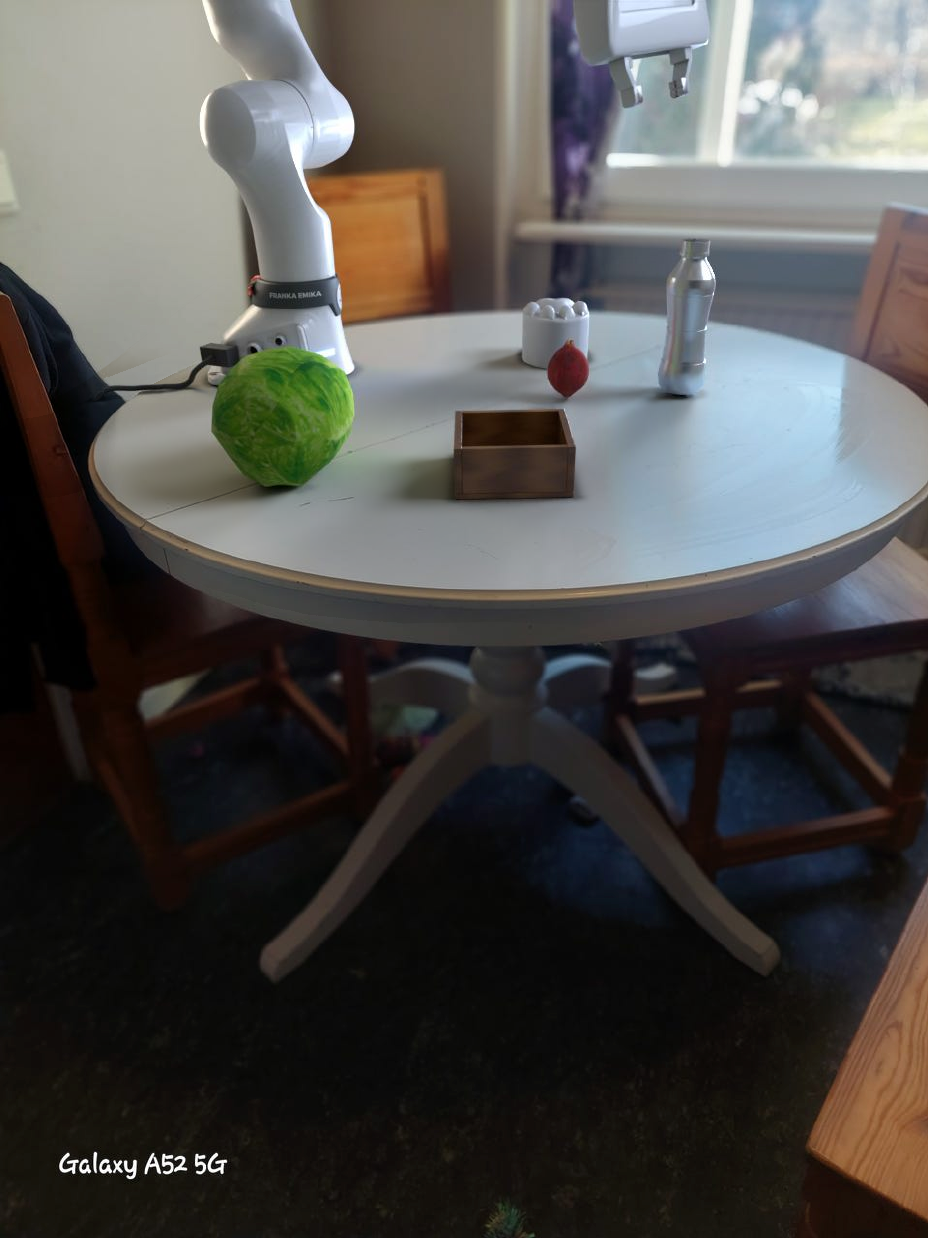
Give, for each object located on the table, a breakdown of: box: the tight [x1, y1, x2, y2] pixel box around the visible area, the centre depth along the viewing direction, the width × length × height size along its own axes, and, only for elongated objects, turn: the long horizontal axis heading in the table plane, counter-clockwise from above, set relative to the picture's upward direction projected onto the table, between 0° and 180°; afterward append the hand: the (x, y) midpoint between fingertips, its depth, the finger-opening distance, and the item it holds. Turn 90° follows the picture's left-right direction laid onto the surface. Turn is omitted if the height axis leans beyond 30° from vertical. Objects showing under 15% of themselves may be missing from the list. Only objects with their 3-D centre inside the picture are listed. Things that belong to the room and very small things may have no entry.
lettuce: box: [210, 347, 356, 488], centre depth 99 cm, size 15×22×15 cm
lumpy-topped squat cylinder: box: [521, 297, 590, 370], centre depth 138 cm, size 10×13×9 cm
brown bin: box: [453, 408, 577, 500], centre depth 96 cm, size 13×13×6 cm
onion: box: [546, 339, 590, 398], centre depth 120 cm, size 6×6×8 cm
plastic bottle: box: [657, 237, 717, 396], centre depth 118 cm, size 6×7×20 cm
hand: (657, 101), depth 98 cm, fingers open, 8 cm apart
